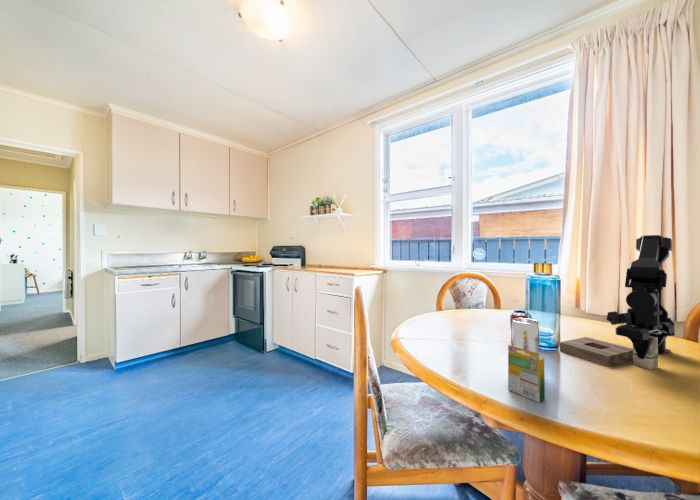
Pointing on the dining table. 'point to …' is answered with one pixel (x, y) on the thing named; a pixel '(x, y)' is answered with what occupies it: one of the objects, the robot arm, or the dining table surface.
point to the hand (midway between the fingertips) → (645, 357)
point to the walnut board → (597, 350)
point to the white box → (525, 334)
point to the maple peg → (648, 356)
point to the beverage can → (516, 315)
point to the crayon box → (526, 374)
